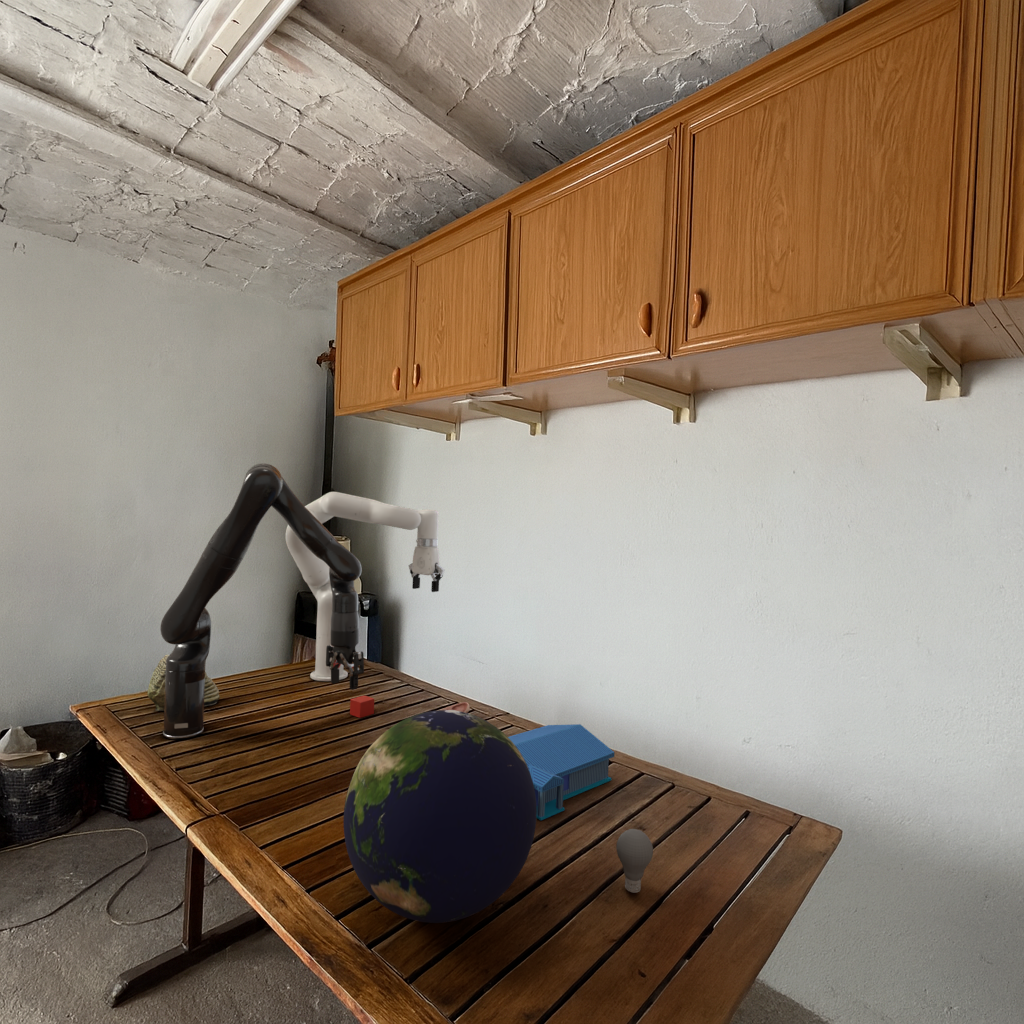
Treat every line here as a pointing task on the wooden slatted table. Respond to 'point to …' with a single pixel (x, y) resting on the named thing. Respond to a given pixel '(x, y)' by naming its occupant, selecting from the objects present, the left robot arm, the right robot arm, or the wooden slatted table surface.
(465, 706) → the anatomical model
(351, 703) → the block
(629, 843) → the light bulb
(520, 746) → the model building
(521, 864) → the globe
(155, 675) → the fossil
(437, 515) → the right robot arm
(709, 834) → the wooden slatted table surface
